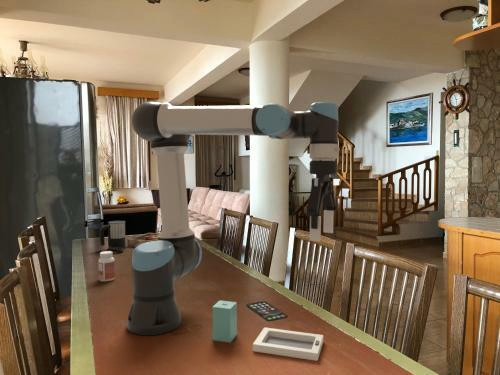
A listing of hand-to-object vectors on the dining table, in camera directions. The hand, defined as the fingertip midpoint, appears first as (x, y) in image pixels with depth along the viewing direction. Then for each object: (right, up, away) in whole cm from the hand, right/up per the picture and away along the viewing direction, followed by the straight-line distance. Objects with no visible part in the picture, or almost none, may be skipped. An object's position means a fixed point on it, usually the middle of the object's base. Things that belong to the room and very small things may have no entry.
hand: (322, 236), depth 110 cm
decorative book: (-74, -20, +118) cm, 140 cm away
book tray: (-74, -19, +118) cm, 141 cm away
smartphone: (-15, -26, +15) cm, 33 cm away
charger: (-27, -27, -4) cm, 38 cm away
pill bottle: (-78, -24, +49) cm, 95 cm away
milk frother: (-92, -20, +103) cm, 139 cm away
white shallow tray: (-10, -27, -9) cm, 30 cm away
